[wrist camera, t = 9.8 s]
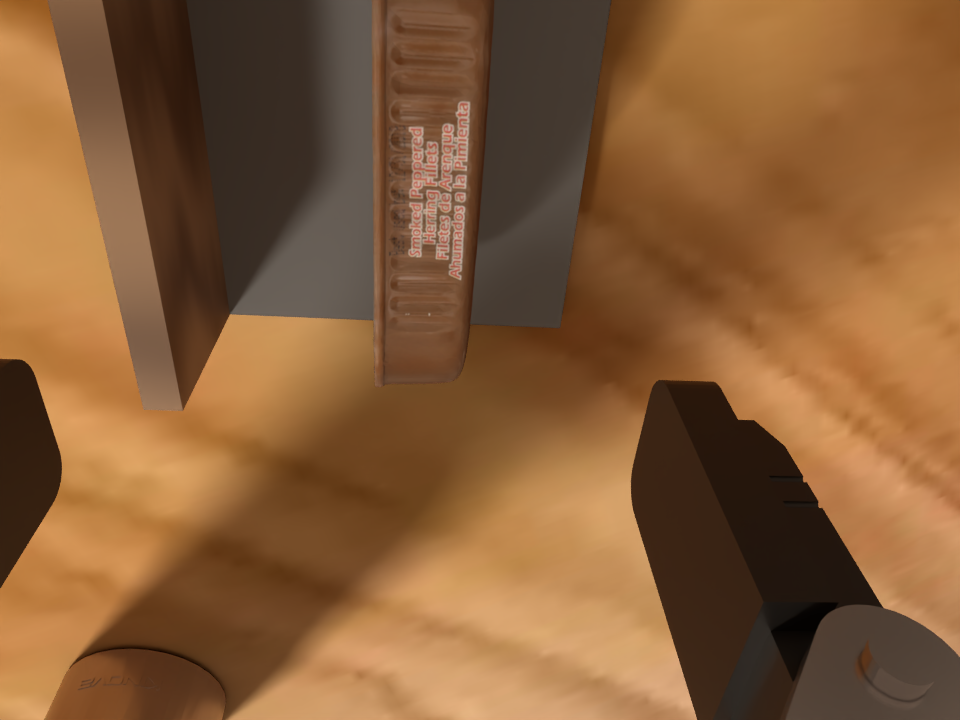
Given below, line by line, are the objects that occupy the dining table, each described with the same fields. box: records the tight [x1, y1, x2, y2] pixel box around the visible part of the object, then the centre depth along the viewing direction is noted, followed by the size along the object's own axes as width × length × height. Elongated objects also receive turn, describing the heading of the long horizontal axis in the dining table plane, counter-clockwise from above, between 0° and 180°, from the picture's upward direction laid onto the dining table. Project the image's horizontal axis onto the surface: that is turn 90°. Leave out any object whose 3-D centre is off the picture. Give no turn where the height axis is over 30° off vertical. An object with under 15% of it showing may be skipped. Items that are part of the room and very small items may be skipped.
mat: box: [186, 0, 611, 328], centre depth 23 cm, size 20×14×1 cm
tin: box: [371, 0, 494, 387], centre depth 20 cm, size 15×3×8 cm, turn 176°
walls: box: [48, 0, 230, 411], centre depth 20 cm, size 20×14×6 cm
